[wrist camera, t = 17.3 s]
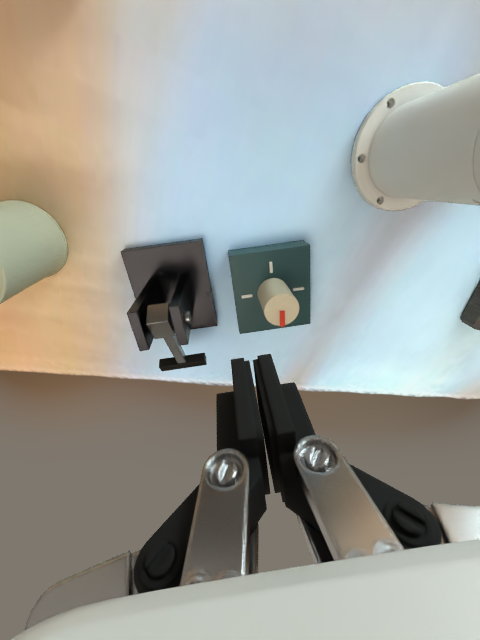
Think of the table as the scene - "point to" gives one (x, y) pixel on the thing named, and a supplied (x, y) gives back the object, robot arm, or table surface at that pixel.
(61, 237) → the can
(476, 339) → the table surface
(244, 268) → the dial panel
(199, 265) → the pivoting lever stand
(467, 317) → the walkie-talkie
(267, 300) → the dial
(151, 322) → the lever
